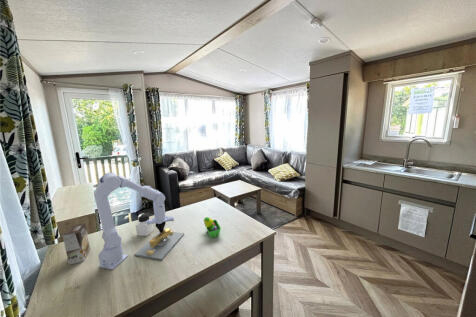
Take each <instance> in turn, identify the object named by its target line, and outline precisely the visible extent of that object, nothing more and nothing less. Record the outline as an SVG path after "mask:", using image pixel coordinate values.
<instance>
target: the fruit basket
mask: <svg viewBox="0 0 476 317" xmlns="http://www.w3.org/2000/svg"><path fill="white" fill-rule="evenodd" d="M203 222H204V226H205V228H206V230H207V232H208V236H209V238H214V237H219V236H220V232H221V226H220V225H219V223H218V221H217V219H213V218H210V217H208V216H206V217H204V218H203Z"/></svg>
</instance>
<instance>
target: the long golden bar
mask: <svg viewBox="0 0 476 317" xmlns="http://www.w3.org/2000/svg"><path fill="white" fill-rule="evenodd" d="M171 231H172V230H171V228H168V227H167V228H164V231H162V232H161V233H160V234H158V235H157V236H155V235H154V236H155V237H154V236H153V237H154V238H153V237H152V238H153V239H152V238H151V239H150V240H149V241H148V242H150V247H153V248H154V247H155V246H156V245H159V244H163V243H165V242H166V241H167V240H168V238H167V237H168V236H169V235H170V234H171Z"/></svg>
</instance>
